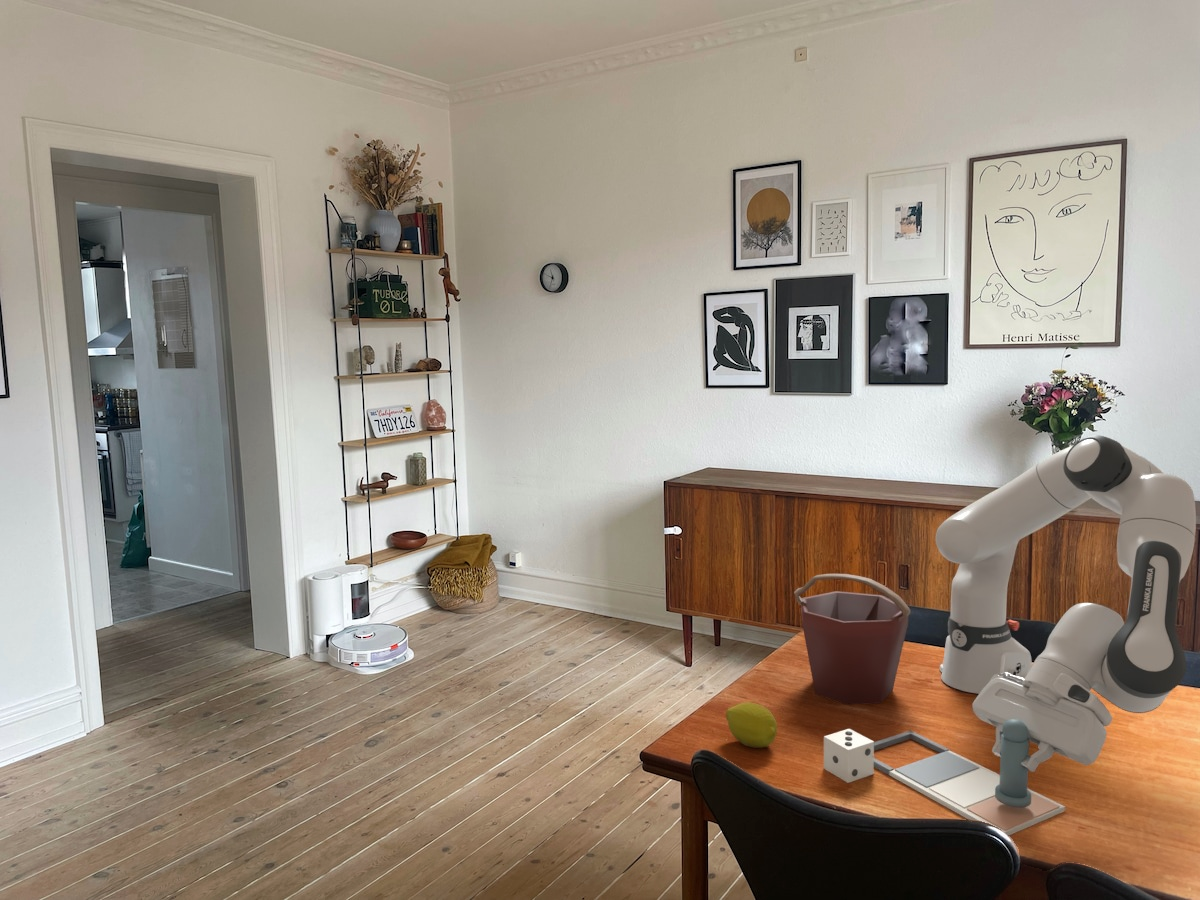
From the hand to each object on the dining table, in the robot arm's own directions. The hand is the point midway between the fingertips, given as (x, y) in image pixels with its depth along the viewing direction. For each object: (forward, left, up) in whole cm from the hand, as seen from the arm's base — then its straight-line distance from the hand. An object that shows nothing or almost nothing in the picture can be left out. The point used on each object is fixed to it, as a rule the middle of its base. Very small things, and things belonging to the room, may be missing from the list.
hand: (1012, 761), depth 138 cm
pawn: (-1, 0, -6) cm, 6 cm away
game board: (-1, -11, -9) cm, 14 cm away
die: (+12, -23, -9) cm, 28 cm away
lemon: (+20, -40, -9) cm, 46 cm away
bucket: (-15, -50, -9) cm, 54 cm away
